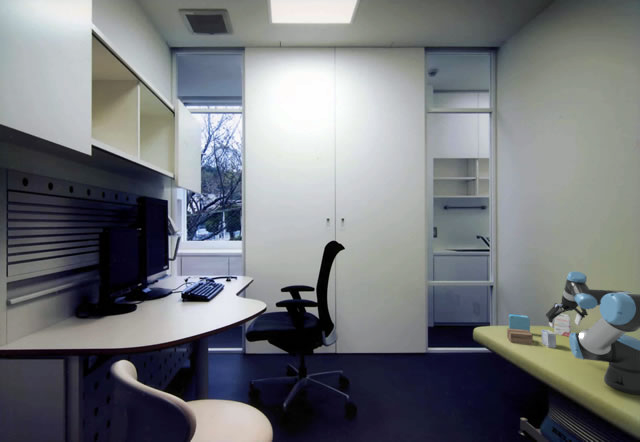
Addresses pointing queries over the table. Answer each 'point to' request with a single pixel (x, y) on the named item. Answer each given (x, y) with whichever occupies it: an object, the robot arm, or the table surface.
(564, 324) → the ink cartridge box
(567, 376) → the table surface
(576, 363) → the table surface
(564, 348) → the table surface
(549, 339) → the medicine box
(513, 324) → the data package
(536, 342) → the table surface
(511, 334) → the walnut block
